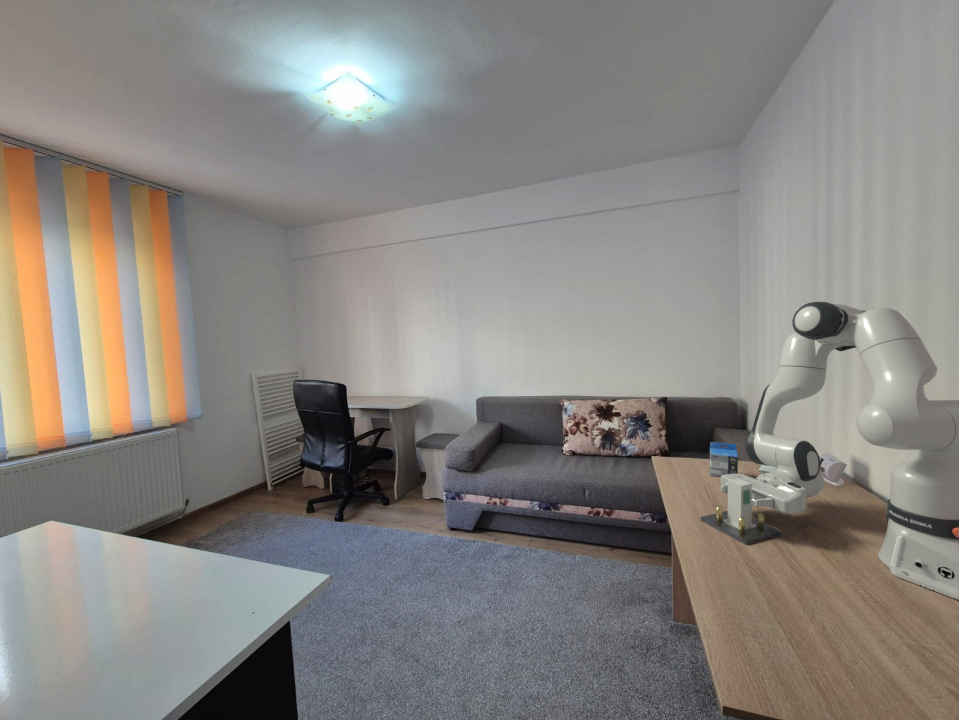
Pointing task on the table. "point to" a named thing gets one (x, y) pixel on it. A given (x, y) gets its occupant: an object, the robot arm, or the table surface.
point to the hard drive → (767, 469)
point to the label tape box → (723, 459)
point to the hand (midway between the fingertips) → (737, 496)
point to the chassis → (741, 527)
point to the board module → (739, 501)
